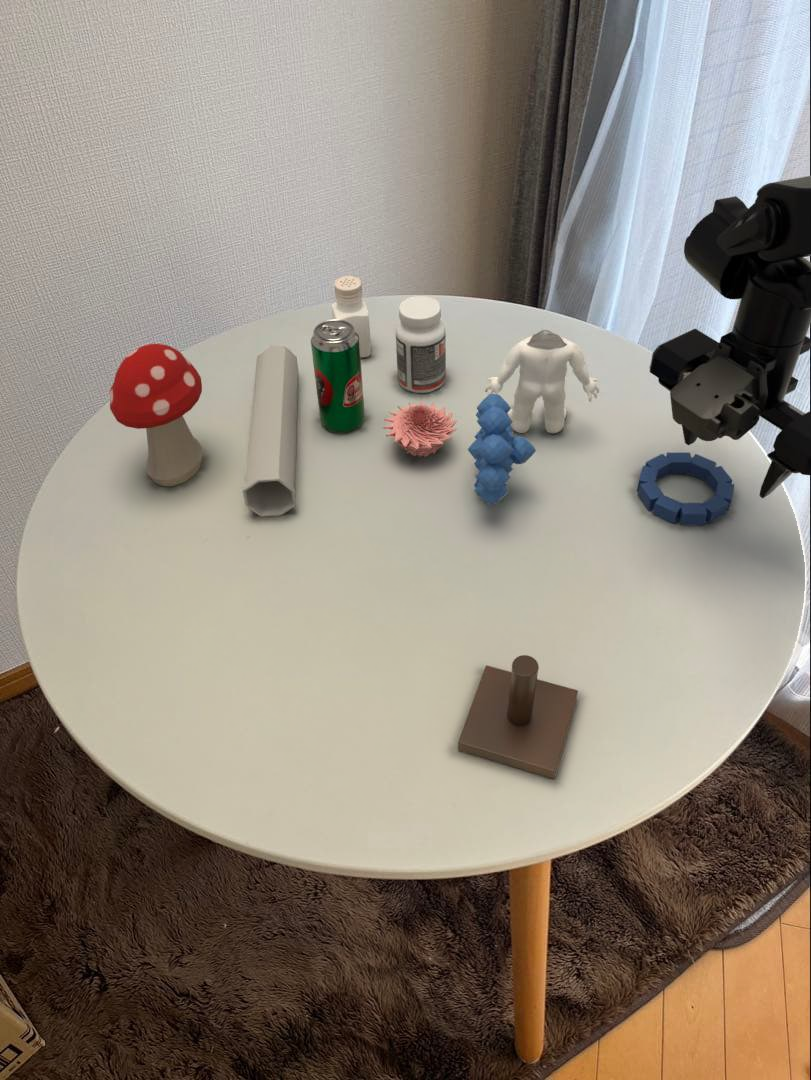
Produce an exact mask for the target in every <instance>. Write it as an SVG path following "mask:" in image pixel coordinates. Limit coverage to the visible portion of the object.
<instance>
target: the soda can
mask: <svg viewBox="0 0 811 1080" xmlns="http://www.w3.org/2000/svg"><path fill="white" fill-rule="evenodd" d="M312 331H313V332H312V333H313V334H312V336H311V338H310V346H311V354H312V363H313V373H314V380H315V388H316V396H317V404H318V412H319V421H320V423H321V424H322V426H323V427H325V428H326V429H327V430H329V431H331V432H334V433H349V432H352V431H354V430H356V429H357V428H359V427H360V426H361V424H363V423H364V421H365V417H366V415H365V400H364V386H363V373H362V360H361V359H362V358H360V345H359V336H358V334H357V333H356V331H355V329H354V326H353V325H352V324H351V323H349V322H347V321H345V320H339V319H333V318H332V319H327V320H324V321H322V322H319V323H318V324H317V325H316V326H315V327H314V329H313V330H312Z"/></svg>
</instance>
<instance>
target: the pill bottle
mask: <svg viewBox="0 0 811 1080" xmlns="http://www.w3.org/2000/svg"><path fill="white" fill-rule="evenodd" d="M398 318H399V321H398V323H397V324H396V326H395V348H396V372H397V380H398V383H399V384H400V386H401V387H402V388H403V389H405V390H407V391H410V392H412V393H416V394H425V393H432V392H433V391H435V390H438V389H439V388H440V387H442V385H444V383H445V381H446V378H447V377H446V376H447V375H446V374H447V370H446V369H447V367H446V365H447V363H446V361H447V357H446V355H447V354H446V353H447V352H446V351H447V350H446V349H447V348H446V347H447V345H446V343H447V340H446V339H447V338H446V337H447V336H446V334H447V333H446V326H445V323H444V321H442V319H441V318H442V308H441V303H440V302H439V301H438V300H436V298H433V297H431V296H426V295H416V296H411V297H408V298H406V299H404V300H403V301H402V302H400V304H399V307H398Z"/></svg>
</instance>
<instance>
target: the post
mask: <svg viewBox="0 0 811 1080" xmlns="http://www.w3.org/2000/svg"><path fill="white" fill-rule="evenodd" d="M539 667H540V665H539V663H538V661H537V659H535V657H533V656H531V655H528V654H523V655H518V656H516V657H515V658H514V659H513V660H512V662H511V671H509V670H505V669H501V668H498V667H494V666H490V665H485V667H484V669H483V672H482V675H481V678H480V680H479V683H478V686H477V688H476V691H475V694H474V697H473V699H472V703H471V705H470V708H469V710H468V714H467V716H466V719H465V722H464V725H463V727H462V730H461V733H460V736H459V738H458V741H457V750H458V751H460V752H463V753H467V754H470V755H474V756H477V757H480V758H483V759H486V760H489V761H493V762H497V763H500V764H503V765H506V766H510V767H513V768H516V769H519V770H523V771H526V772H529V773H533V774H536V775H539V776H542V777H546V778H550V779H552V780H555V779H556V776H557V772H558V769H559V764H560V761H561V757H562V753H563V750H564V746H565V743H566V740H567V739H566V738H567V735H568V731H569V729H570V724H571V721H572V717H573V713H574V709H575V705H576V702H577V698H578V693H579V690H578V689H574V688H571V687H567V686H563V685H559V684H556V683H552V682H549V681H545V680H542V679H538V674H539Z"/></svg>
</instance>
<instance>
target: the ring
mask: <svg viewBox="0 0 811 1080" xmlns="http://www.w3.org/2000/svg"><path fill="white" fill-rule="evenodd" d="M669 474H672V475H679V474H680V475H684V474H687V475H690V476H693V477H695V478H697V479H699V480H702V481H704V482H705V483H706V484H707V486H708V487H709V488H710V489H711V491H712V492H713V493H714V494H713V496H712V497H710V498H708V499H707V500H704V501H703V502H681V501H678V500H676V499H674V498H672V497H670V496H667V495H665V494H664V492H663V491H662V490H661V488H660V487H659V485H658V484H657V483H656V482H657V481H658V480H660V479H662V478H663V477H665V476H667V475H669ZM733 482H734V481H733V478H732V477H731V476H730V475H729V473H727V471H726V470H725V469H724V467H723V466H722V465H717V462H716V461H714V460H711V459H710V458H708V457H707V458H706V457H704V456H702V455H700V454H697V453H695V454H694V455H693V456H692V455H691V452H678V451H677V452H671V451H669V452H666V454H665V455H664V453H660V454H658V455H656V456H655V457H653V458H651V459H649V460H647V461H646V462H645V464H644V465H642V468H641V472H640V474H639V479H638V483H637V487H636V492H637V496H638V498H639V500H640V501H641V502H642V504H643V506H644V507H645V508H646V510H647V511H652V515H654V516H656V517H658V518H661V519H663V520H665V521H667V522H670V523H672V524H675V523H676V522H677V520H678V523H679V526H705V523H707V524H709V525H710V524H711V523H712V524H713V522H715V521H717V520H718V519H720V518H721V517H724V516H725V515H727V511H728V512H729V509H730V507H731V504H732V500H733V495H734V489H735V484H734V483H733Z"/></svg>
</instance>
